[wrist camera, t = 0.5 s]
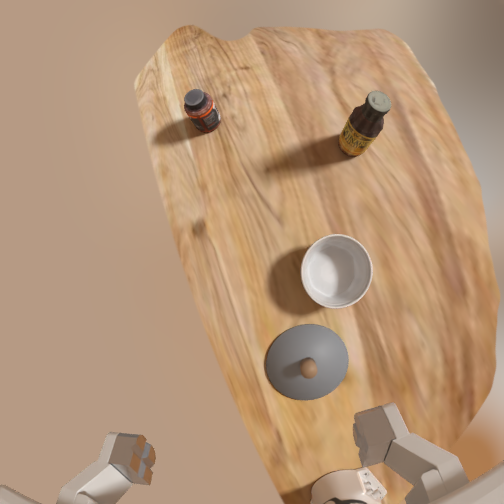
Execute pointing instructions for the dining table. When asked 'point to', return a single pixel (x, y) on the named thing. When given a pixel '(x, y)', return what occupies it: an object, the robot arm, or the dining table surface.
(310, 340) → the lid
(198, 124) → the supplement bottle
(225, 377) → the dining table surface
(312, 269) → the ramekin
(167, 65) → the dining table surface
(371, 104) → the sauce bottle
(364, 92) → the dining table surface
